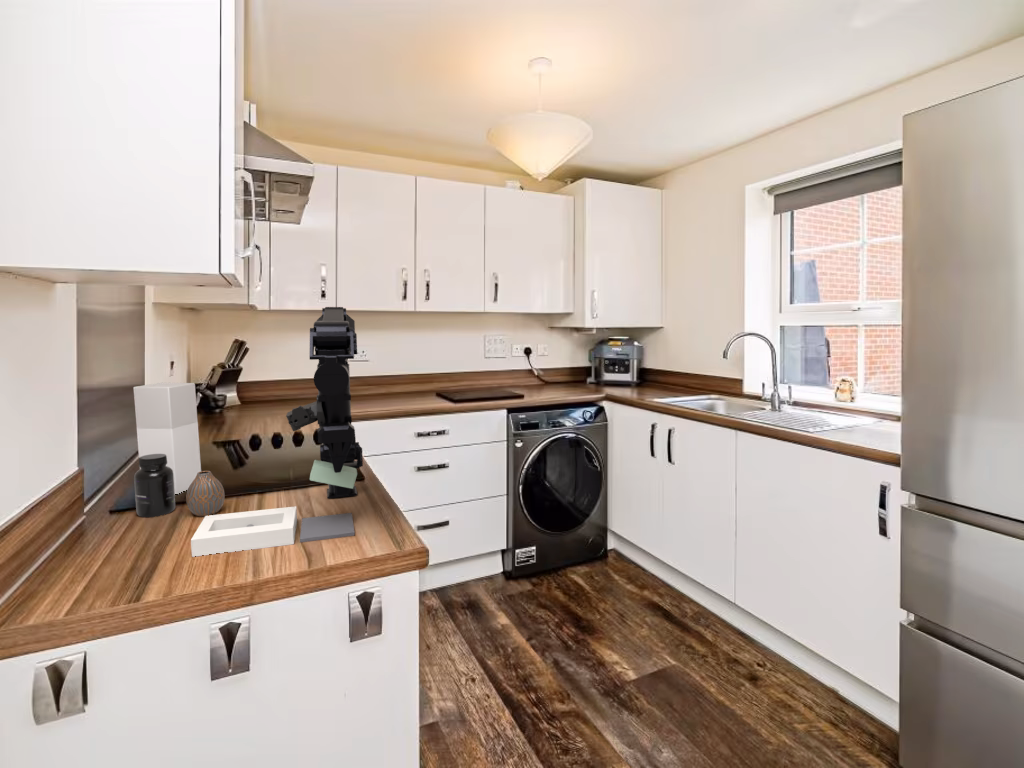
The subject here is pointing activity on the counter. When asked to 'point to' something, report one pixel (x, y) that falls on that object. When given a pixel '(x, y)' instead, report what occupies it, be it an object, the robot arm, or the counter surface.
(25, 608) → the counter surface
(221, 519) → the white rectangular frame
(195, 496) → the vase
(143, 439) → the tall white carton
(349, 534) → the rubber mat
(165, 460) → the supplement bottle
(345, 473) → the sage block
